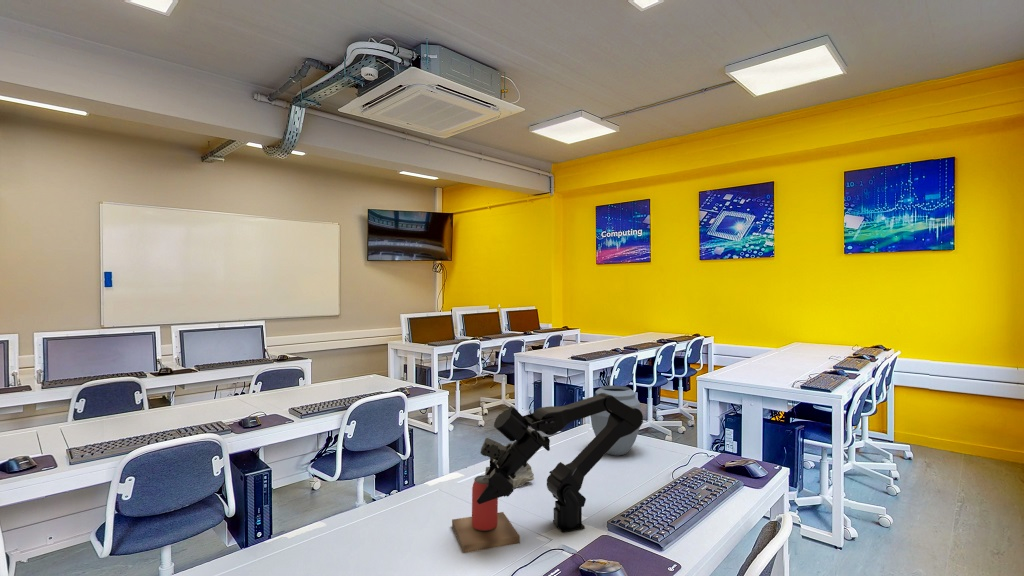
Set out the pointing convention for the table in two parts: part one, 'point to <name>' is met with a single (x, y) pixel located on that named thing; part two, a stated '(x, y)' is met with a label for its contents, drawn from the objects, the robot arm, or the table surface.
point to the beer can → (483, 507)
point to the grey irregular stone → (521, 476)
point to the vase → (601, 418)
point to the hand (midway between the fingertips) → (478, 494)
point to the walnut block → (484, 534)
